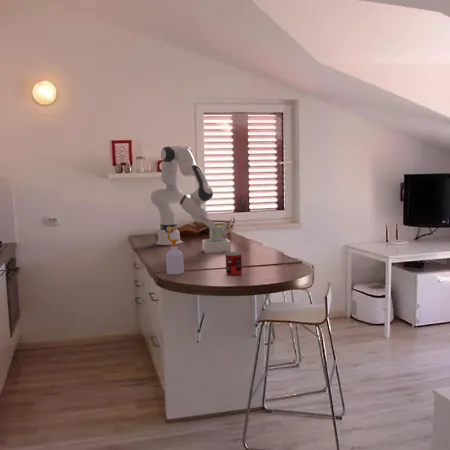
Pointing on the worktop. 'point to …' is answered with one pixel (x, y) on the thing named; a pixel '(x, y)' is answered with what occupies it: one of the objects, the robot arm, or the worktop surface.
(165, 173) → the robot arm
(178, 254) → the soap bottle
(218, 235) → the small tote
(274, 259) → the worktop surface
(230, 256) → the canned food
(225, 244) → the box
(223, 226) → the candy bar box
